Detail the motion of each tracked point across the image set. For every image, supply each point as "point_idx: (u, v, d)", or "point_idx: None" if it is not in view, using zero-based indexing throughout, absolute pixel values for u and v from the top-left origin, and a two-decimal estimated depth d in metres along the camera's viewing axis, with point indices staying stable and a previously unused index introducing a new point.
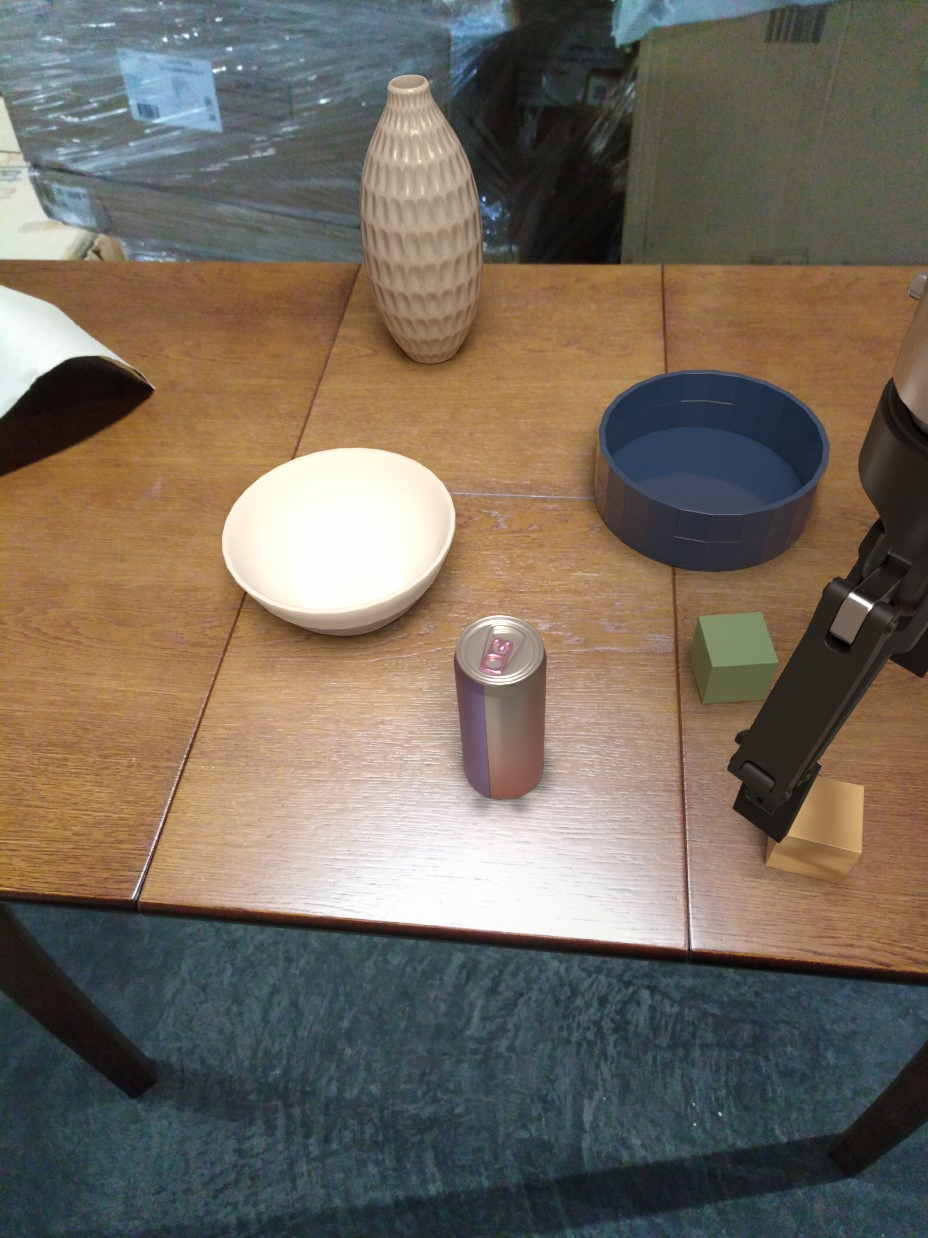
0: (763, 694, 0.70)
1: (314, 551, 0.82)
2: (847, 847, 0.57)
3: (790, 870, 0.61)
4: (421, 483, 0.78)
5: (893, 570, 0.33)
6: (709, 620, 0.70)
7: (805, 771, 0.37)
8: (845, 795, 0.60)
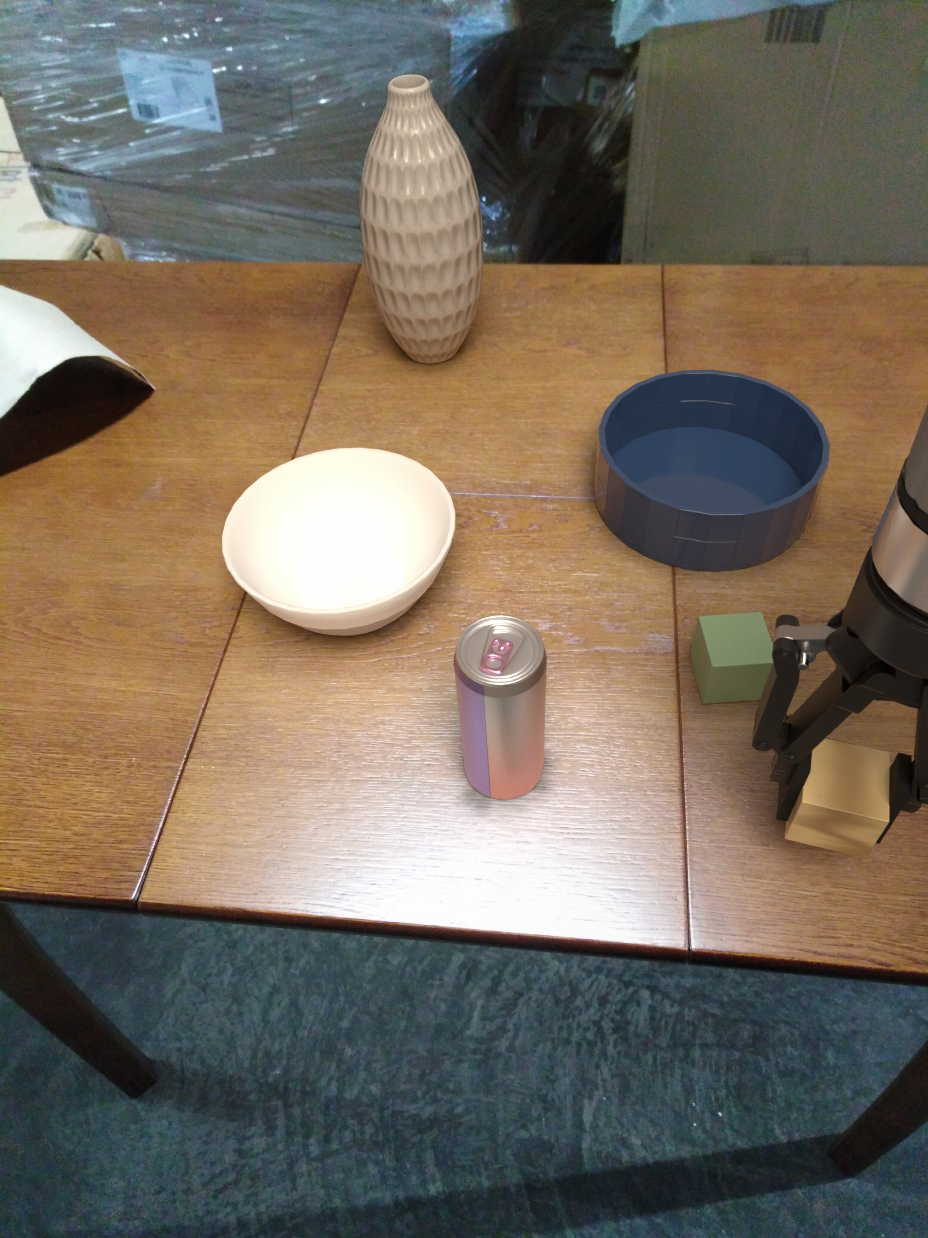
0: None
1: (314, 551, 0.82)
2: (874, 816, 0.53)
3: (811, 843, 0.58)
4: (421, 483, 0.78)
5: (828, 632, 0.46)
6: (709, 620, 0.70)
7: (783, 752, 0.53)
8: (870, 761, 0.56)
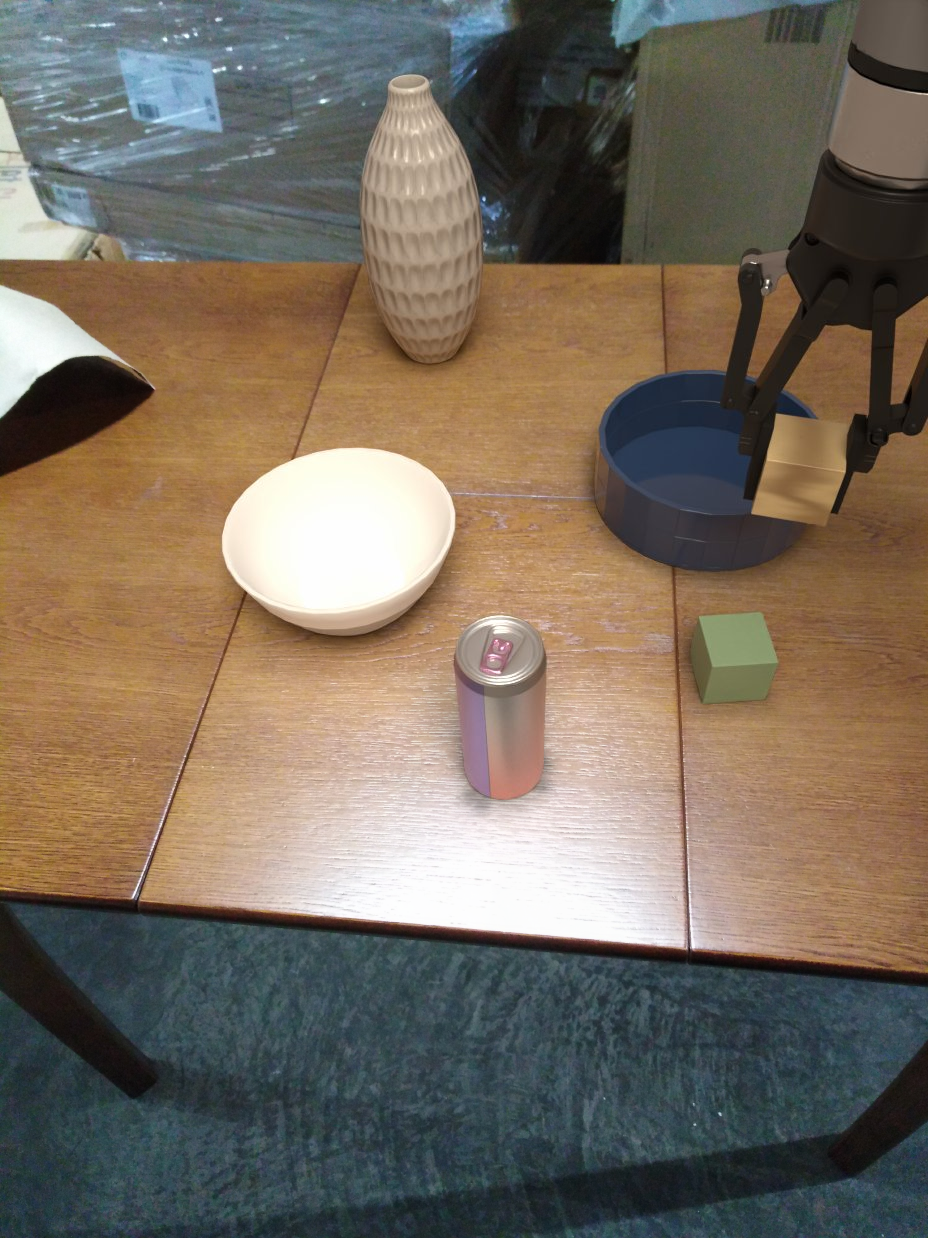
0: (763, 694, 0.70)
1: (314, 551, 0.82)
2: (831, 468, 0.58)
3: (776, 515, 0.62)
4: (421, 483, 0.78)
5: (788, 252, 0.51)
6: (709, 620, 0.70)
7: (749, 408, 0.58)
8: (829, 430, 0.60)
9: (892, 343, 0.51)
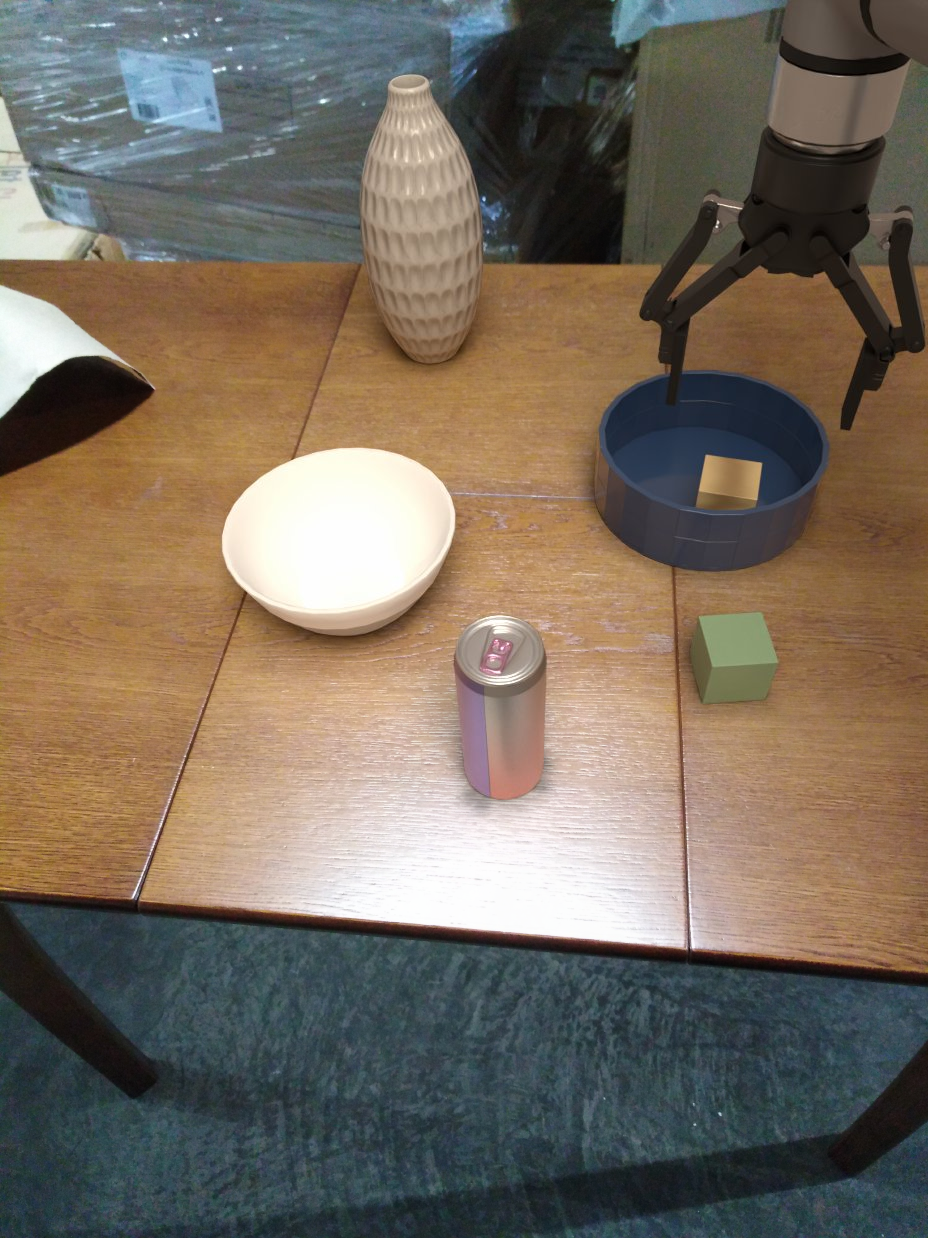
0: (763, 694, 0.70)
1: (314, 551, 0.82)
2: (747, 497, 0.77)
3: None
4: (421, 483, 0.78)
5: (743, 205, 0.61)
6: (709, 620, 0.70)
7: (667, 316, 0.67)
8: (747, 467, 0.80)
9: (848, 277, 0.61)
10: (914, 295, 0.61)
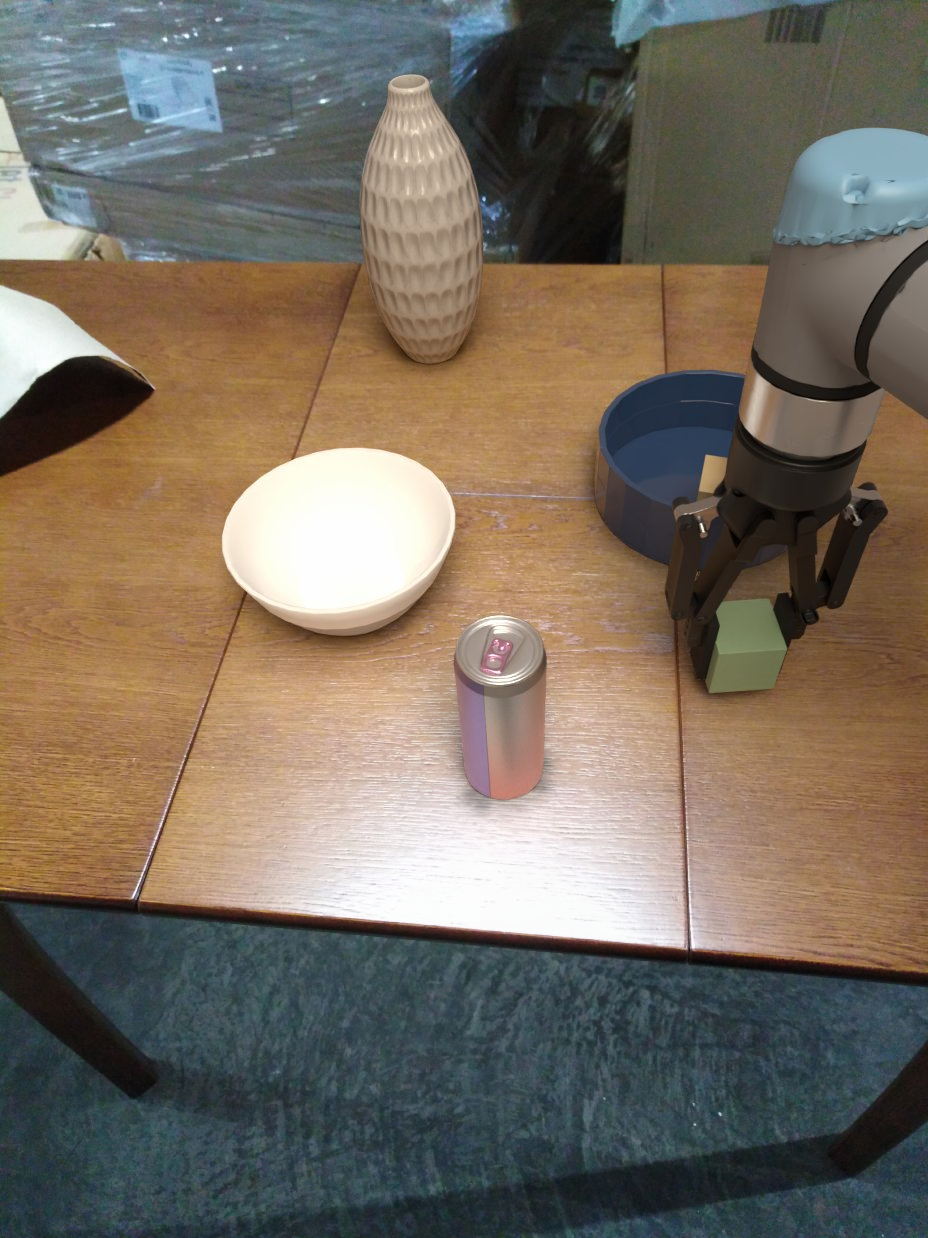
0: (771, 682, 0.68)
1: (314, 551, 0.82)
2: None
3: None
4: (421, 483, 0.78)
5: (716, 500, 0.57)
6: None
7: (696, 615, 0.64)
8: None
9: (815, 553, 0.59)
10: (857, 565, 0.60)
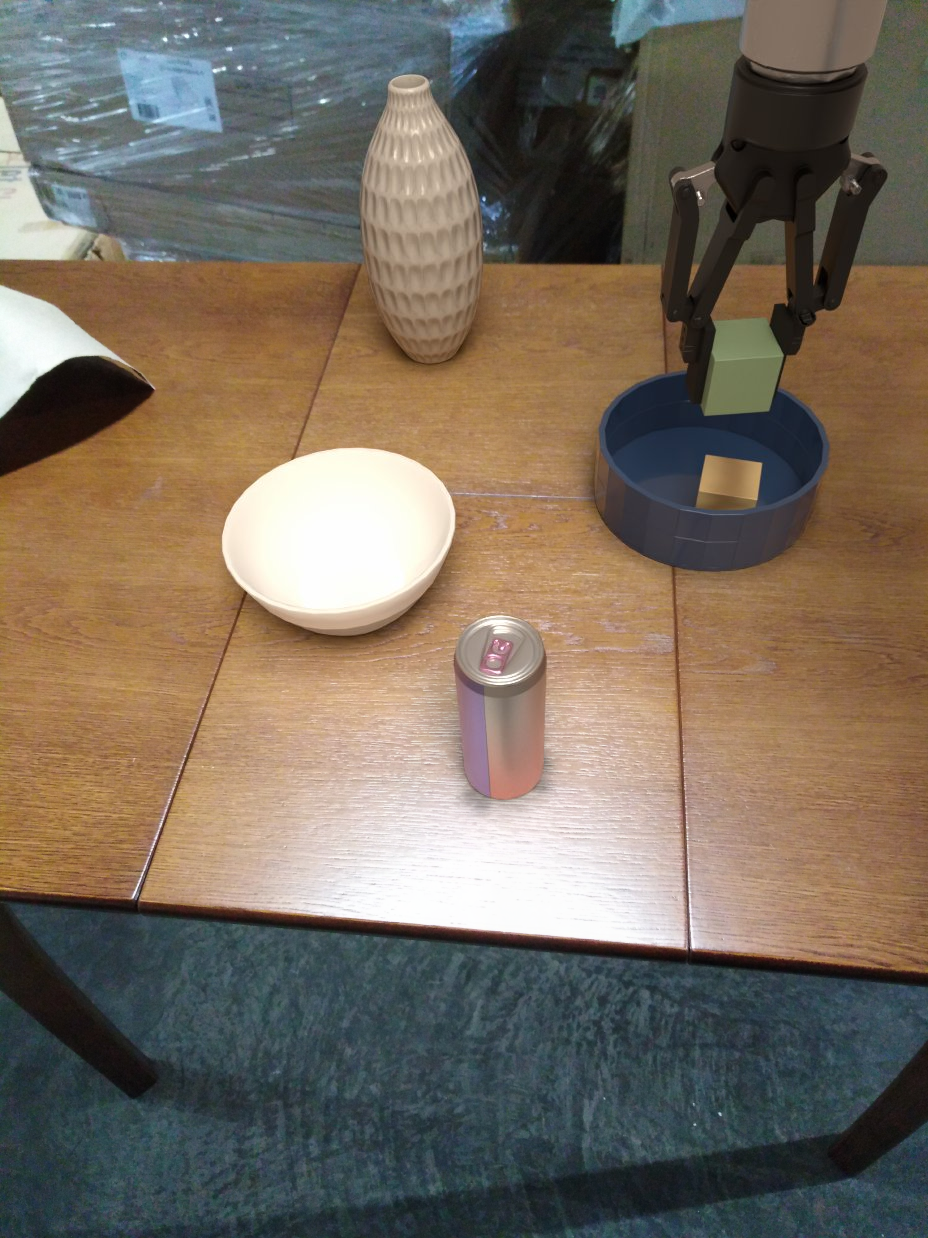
0: (767, 402, 0.68)
1: (314, 551, 0.82)
2: (747, 497, 0.77)
3: None
4: (421, 483, 0.78)
5: (714, 163, 0.56)
6: None
7: (693, 316, 0.63)
8: (747, 467, 0.80)
9: (813, 227, 0.58)
10: (855, 249, 0.60)
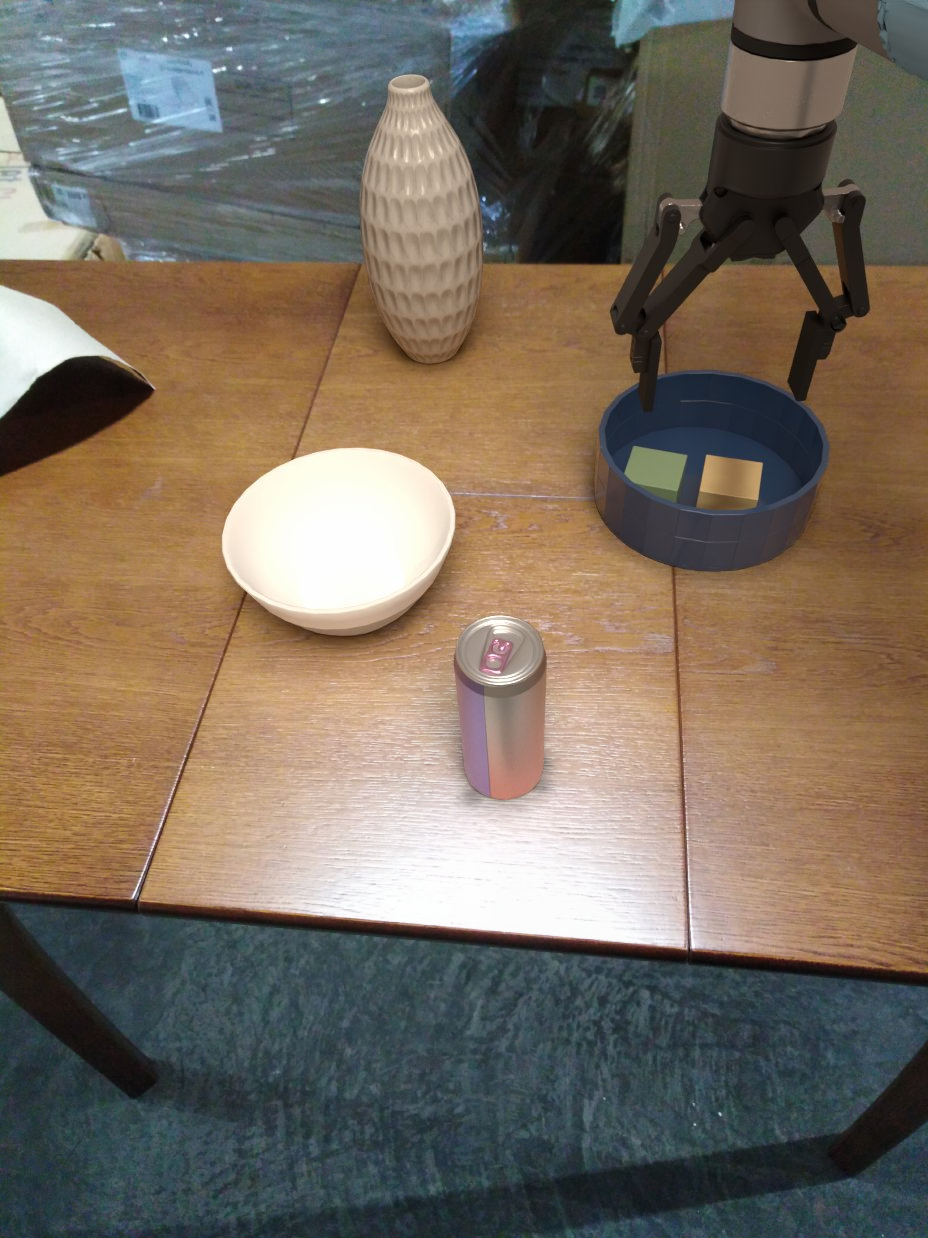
0: (667, 491, 0.79)
1: (314, 551, 0.82)
2: (747, 496, 0.77)
3: None
4: (421, 483, 0.78)
5: (701, 201, 0.61)
6: None
7: (642, 327, 0.67)
8: (748, 467, 0.80)
9: (808, 254, 0.63)
10: (863, 263, 0.64)
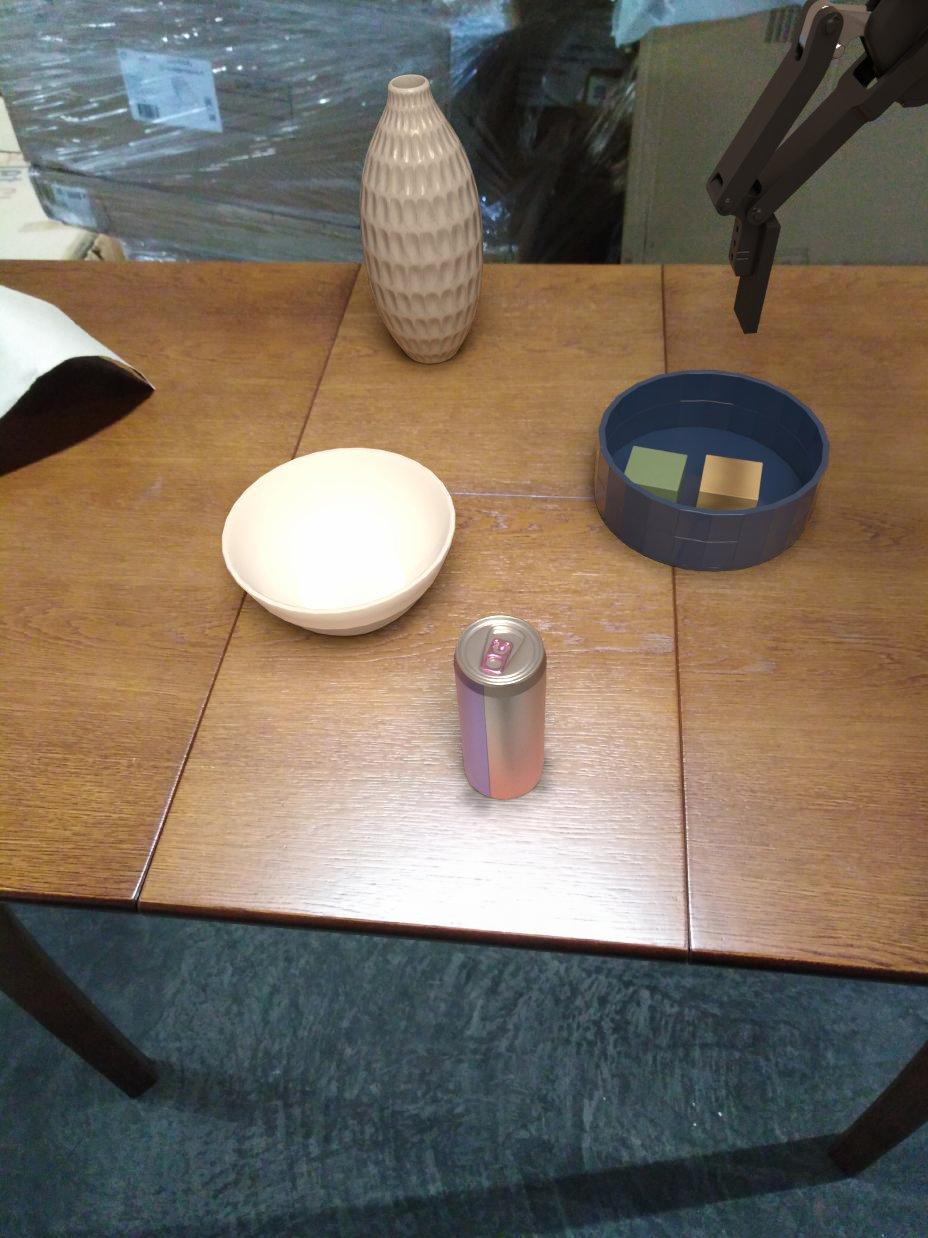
0: (667, 491, 0.79)
1: (314, 551, 0.82)
2: (747, 496, 0.77)
3: None
4: (421, 483, 0.78)
5: (871, 8, 0.41)
6: None
7: (756, 203, 0.47)
8: (748, 467, 0.80)
9: None
10: None
